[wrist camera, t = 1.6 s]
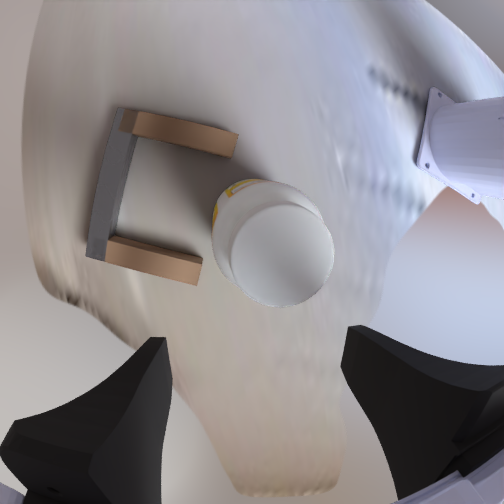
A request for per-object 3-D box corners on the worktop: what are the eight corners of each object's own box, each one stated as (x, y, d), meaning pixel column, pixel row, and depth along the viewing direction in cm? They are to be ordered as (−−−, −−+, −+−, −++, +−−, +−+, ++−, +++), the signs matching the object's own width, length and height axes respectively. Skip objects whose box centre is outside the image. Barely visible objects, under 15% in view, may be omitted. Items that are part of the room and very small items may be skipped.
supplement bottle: (245, 162, 19) (275, 152, 10) (305, 211, 20) (376, 242, 11) (196, 227, 19) (182, 274, 10) (257, 271, 21) (292, 344, 12)
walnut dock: (236, 137, 18) (238, 134, 17) (197, 277, 20) (196, 285, 19) (124, 111, 17) (118, 107, 15) (93, 250, 19) (85, 256, 17)
